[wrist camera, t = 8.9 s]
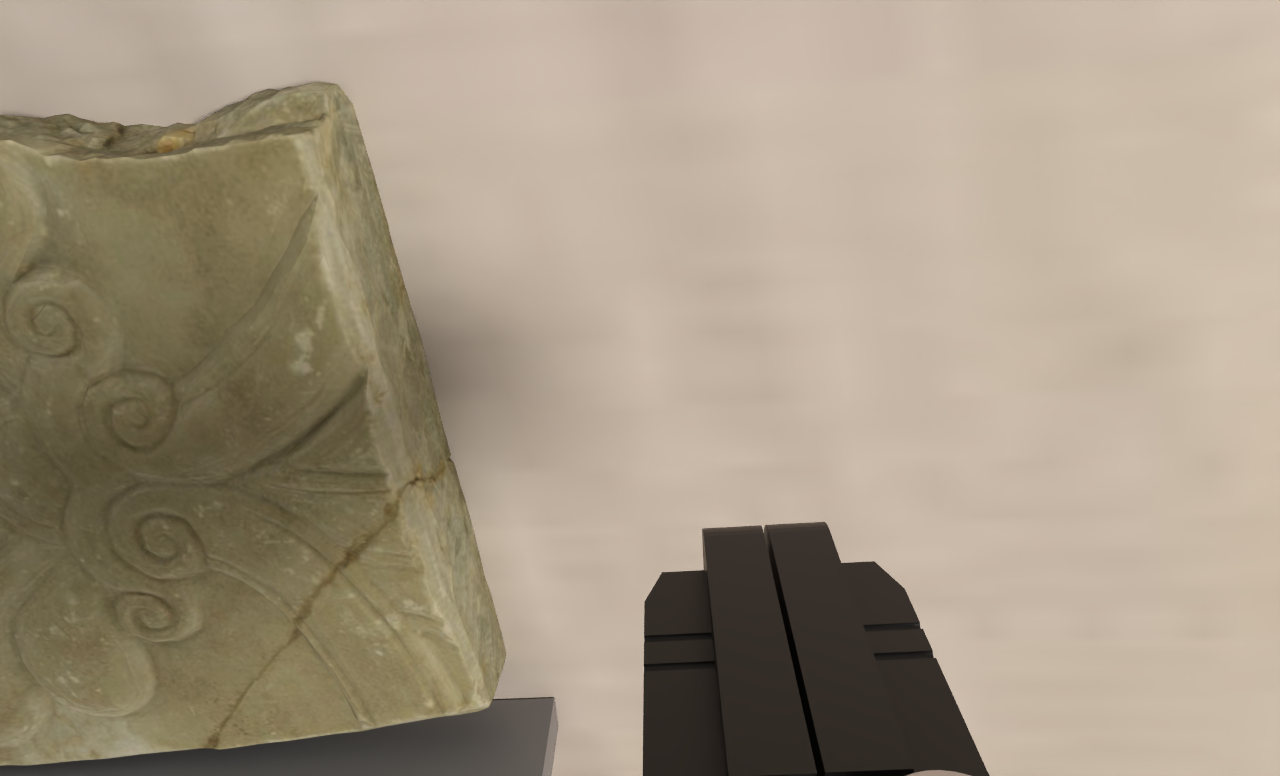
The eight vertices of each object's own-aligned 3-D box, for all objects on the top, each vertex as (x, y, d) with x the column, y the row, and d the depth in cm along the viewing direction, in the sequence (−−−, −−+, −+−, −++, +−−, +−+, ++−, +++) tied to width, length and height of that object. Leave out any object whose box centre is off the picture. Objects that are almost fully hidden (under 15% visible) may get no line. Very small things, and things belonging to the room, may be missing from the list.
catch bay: (-700, -204, 16) (-976, -257, 14) (415, -303, 15) (363, -382, 13) (-134, 752, 27) (-226, 834, 24) (557, 726, 26) (546, 808, 23)
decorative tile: (513, 657, 25) (492, 747, 22) (-80, 712, 27) (-184, 806, 23) (361, 13, 18) (296, 4, 15) (-440, 128, 19) (-665, 143, 16)
